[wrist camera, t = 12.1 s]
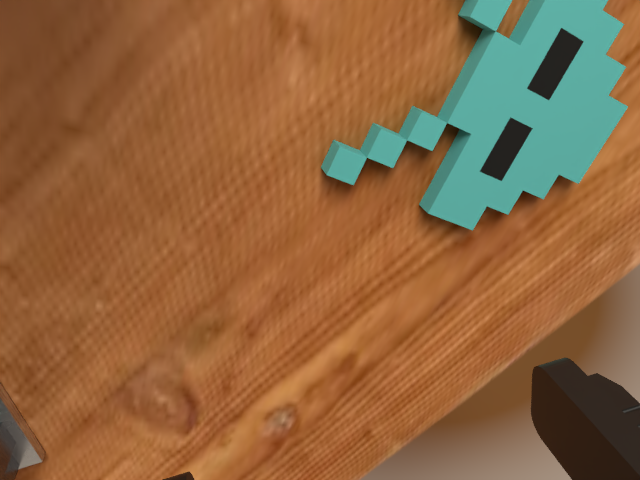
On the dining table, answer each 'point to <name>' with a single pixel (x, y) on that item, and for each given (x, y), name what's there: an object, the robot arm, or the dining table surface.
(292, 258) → the dining table surface
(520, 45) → the alien figure
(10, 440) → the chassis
